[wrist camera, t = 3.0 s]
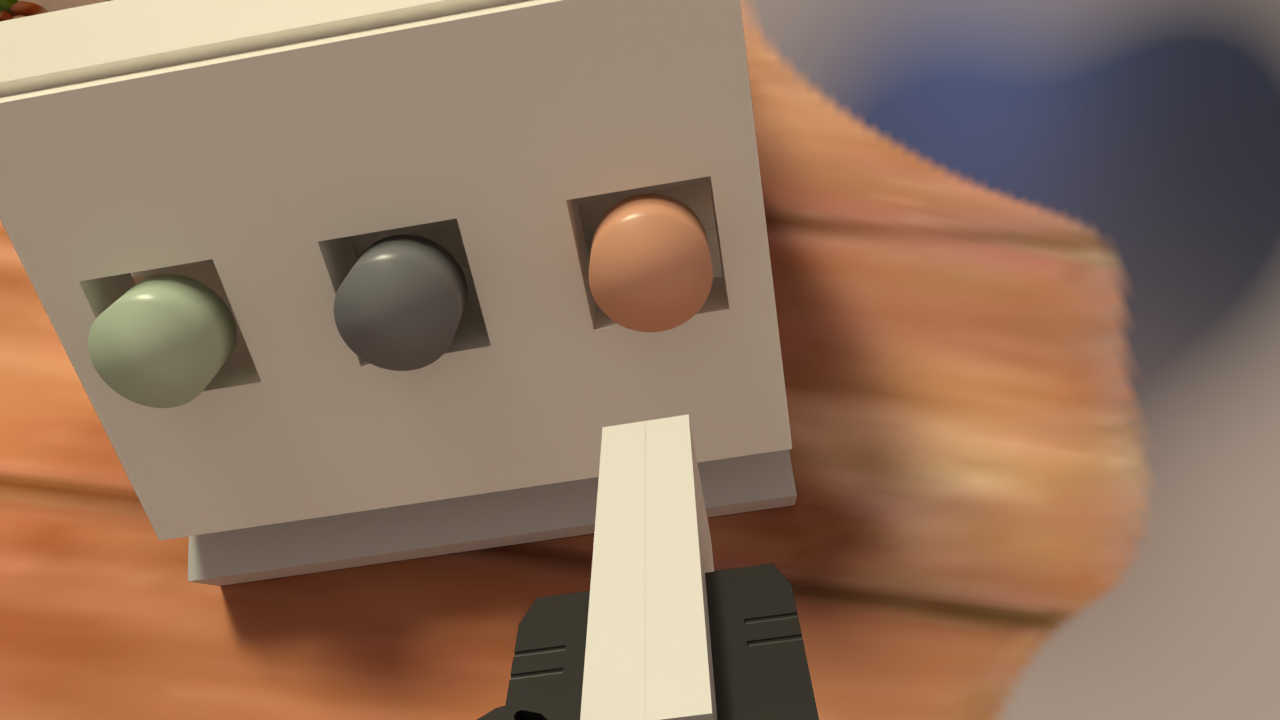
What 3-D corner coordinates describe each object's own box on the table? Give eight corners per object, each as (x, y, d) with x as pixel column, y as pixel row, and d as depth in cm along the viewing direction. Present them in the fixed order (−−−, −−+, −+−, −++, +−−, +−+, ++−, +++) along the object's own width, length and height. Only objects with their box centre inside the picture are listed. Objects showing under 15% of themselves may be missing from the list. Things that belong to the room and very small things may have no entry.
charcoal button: (373, 392, 34) (318, 354, 30) (369, 275, 36) (316, 223, 32) (483, 375, 34) (443, 334, 30) (474, 258, 36) (435, 203, 31)
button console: (220, 586, 42) (-102, 540, 26) (224, 230, 47) (-42, 16, 32) (794, 505, 40) (817, 404, 24) (732, 144, 45) (718, -129, 30)
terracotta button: (608, 356, 34) (586, 311, 30) (594, 238, 35) (571, 180, 31) (722, 338, 34) (716, 291, 29) (703, 221, 35) (695, 159, 31)
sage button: (147, 427, 35) (61, 394, 31) (151, 311, 37) (70, 264, 32) (252, 410, 35) (181, 375, 31) (252, 294, 36) (184, 245, 32)
